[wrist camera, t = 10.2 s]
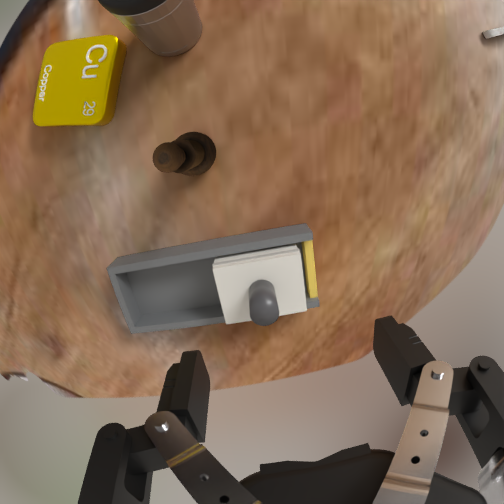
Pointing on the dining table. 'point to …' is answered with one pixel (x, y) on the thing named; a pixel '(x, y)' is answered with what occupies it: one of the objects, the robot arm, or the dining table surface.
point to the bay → (194, 279)
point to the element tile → (79, 82)
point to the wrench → (493, 32)
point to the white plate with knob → (260, 284)
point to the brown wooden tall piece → (186, 154)
